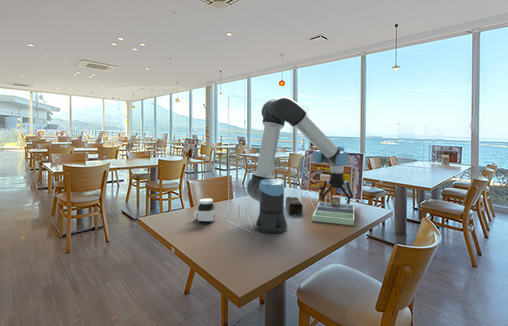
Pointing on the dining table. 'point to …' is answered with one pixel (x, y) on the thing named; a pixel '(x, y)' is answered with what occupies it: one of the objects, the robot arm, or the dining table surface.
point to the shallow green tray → (335, 210)
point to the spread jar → (205, 211)
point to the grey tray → (336, 207)
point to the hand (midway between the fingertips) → (335, 208)
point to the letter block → (336, 201)
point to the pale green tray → (333, 217)
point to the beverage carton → (294, 205)
